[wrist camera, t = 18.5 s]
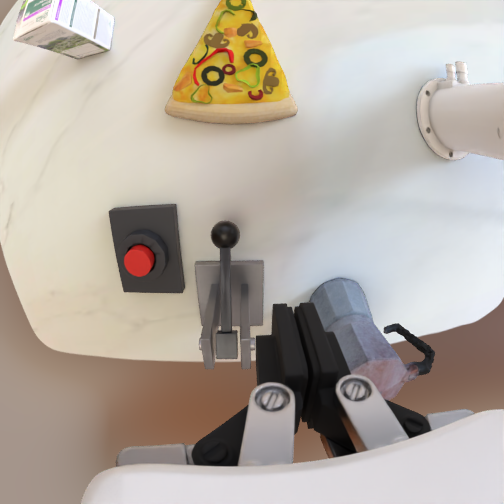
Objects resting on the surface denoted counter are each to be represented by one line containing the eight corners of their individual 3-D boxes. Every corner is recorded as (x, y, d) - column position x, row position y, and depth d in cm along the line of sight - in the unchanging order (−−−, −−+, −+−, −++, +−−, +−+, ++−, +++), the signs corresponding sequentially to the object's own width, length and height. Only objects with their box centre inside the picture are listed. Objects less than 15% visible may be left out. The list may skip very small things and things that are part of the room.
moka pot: (280, 293, 40) (305, 408, 21) (378, 256, 38) (457, 341, 20) (298, 339, 43) (324, 446, 25) (386, 306, 42) (446, 394, 23)
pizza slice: (167, 126, 31) (160, 125, 28) (178, -11, 23) (173, -21, 20) (295, 127, 31) (299, 125, 28) (296, -11, 23) (301, -21, 20)
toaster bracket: (196, 261, 37) (176, 316, 26) (262, 260, 38) (271, 316, 26) (202, 321, 41) (190, 384, 30) (262, 320, 42) (268, 384, 30)
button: (126, 244, 33) (121, 250, 31) (152, 244, 33) (148, 249, 31) (131, 270, 34) (126, 276, 33) (156, 270, 34) (152, 276, 33)
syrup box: (116, 17, 23) (63, -24, 10) (110, 52, 26) (49, 21, 12) (82, 27, 23) (23, -2, 10) (76, 61, 26) (10, 41, 12)
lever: (212, 224, 33) (209, 217, 30) (239, 224, 33) (239, 216, 30) (214, 353, 31) (211, 359, 28) (242, 353, 31) (242, 359, 28)
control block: (113, 207, 34) (102, 214, 31) (176, 203, 34) (169, 210, 31) (127, 286, 39) (119, 298, 36) (184, 287, 39) (180, 300, 36)
